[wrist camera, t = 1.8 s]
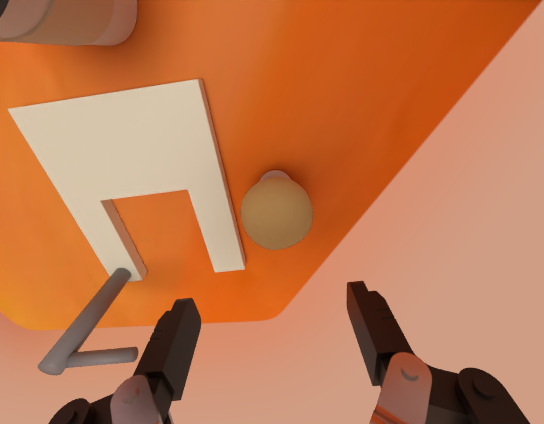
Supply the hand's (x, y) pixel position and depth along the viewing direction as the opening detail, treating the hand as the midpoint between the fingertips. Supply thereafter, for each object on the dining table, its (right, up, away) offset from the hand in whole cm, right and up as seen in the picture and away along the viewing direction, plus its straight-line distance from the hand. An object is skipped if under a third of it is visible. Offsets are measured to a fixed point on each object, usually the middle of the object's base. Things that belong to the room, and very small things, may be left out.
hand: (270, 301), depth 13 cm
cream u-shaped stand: (-14, +6, +16) cm, 22 cm away
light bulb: (+1, +8, +15) cm, 17 cm away
